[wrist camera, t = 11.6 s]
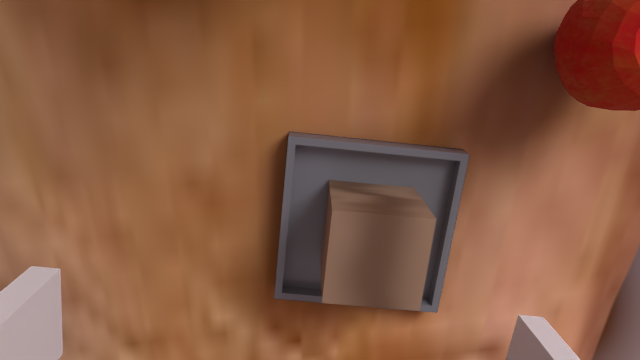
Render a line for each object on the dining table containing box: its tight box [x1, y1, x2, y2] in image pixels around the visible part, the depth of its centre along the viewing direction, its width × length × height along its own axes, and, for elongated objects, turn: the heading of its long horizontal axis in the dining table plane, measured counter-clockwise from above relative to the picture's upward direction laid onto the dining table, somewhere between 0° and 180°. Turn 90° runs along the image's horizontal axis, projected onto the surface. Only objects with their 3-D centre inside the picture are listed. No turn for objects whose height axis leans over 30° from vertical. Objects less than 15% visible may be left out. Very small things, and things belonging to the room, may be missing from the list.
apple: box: [554, 0, 640, 111], centre depth 30 cm, size 9×8×11 cm
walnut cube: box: [320, 180, 436, 311], centre depth 35 cm, size 7×7×7 cm
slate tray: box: [274, 132, 470, 313], centre depth 38 cm, size 14×14×2 cm
